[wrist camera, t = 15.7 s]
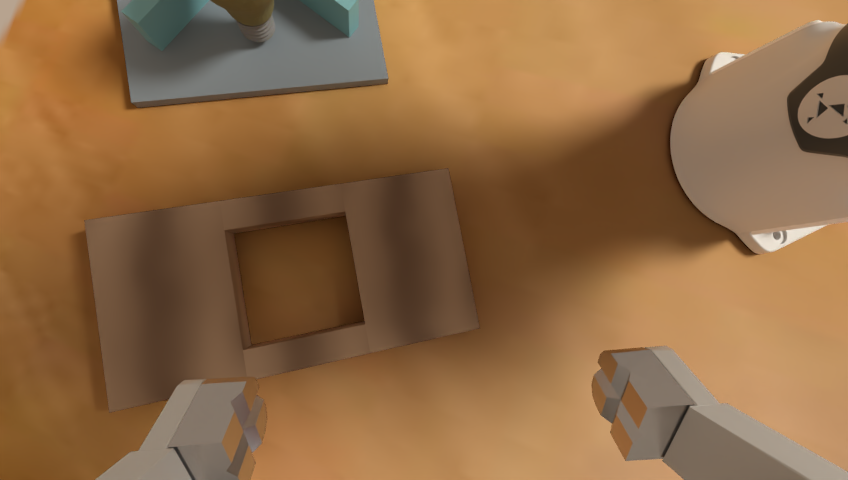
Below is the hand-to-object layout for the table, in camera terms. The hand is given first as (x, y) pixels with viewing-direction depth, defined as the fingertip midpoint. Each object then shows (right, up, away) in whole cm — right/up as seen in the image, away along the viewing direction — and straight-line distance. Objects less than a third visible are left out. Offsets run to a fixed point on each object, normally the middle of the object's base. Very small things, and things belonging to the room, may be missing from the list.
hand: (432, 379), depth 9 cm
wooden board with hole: (-9, +1, +19) cm, 21 cm away
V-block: (-13, +20, +20) cm, 31 cm away
